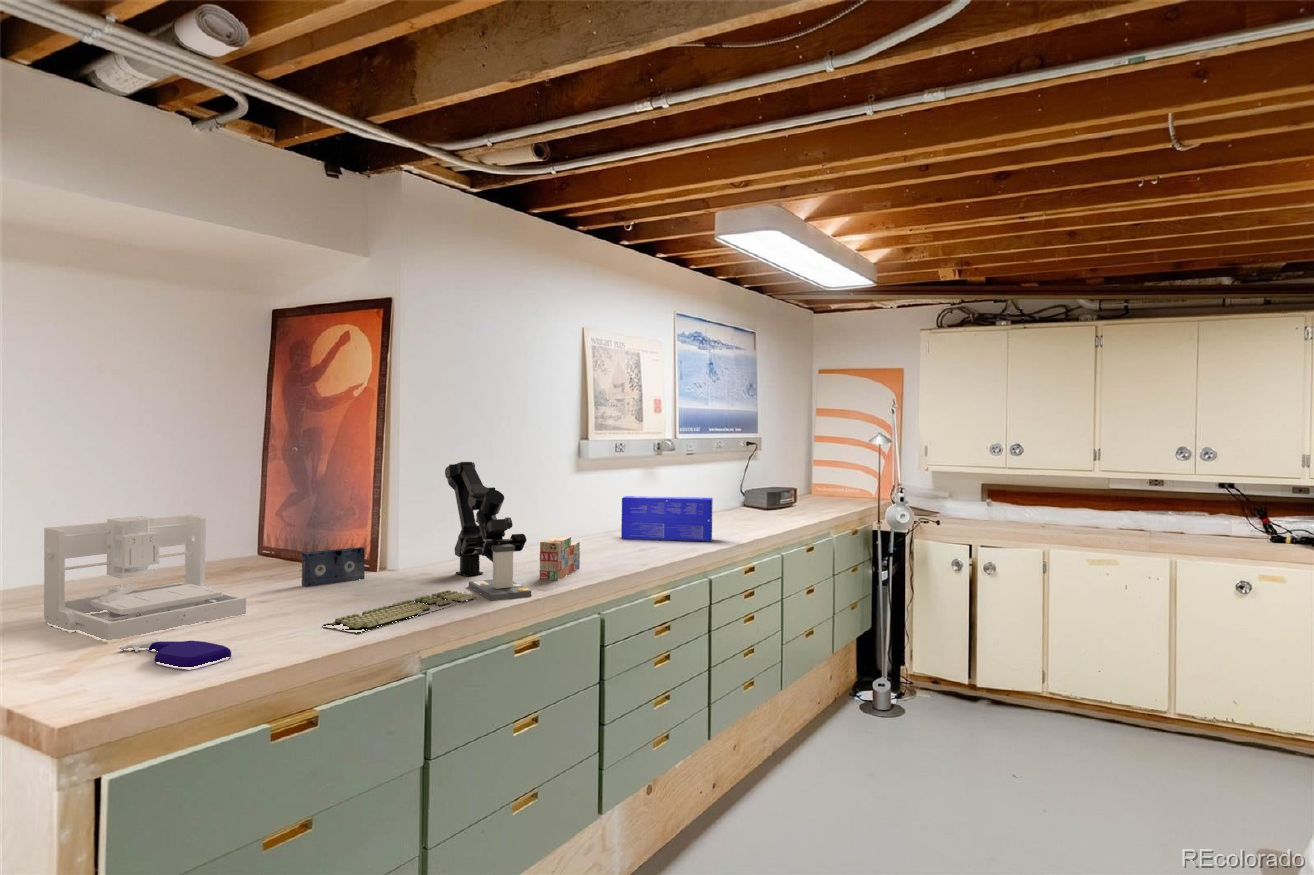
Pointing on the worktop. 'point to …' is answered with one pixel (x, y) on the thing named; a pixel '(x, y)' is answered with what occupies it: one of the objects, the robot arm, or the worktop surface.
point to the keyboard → (399, 611)
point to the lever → (502, 565)
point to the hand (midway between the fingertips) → (500, 567)
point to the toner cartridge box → (666, 518)
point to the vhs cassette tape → (332, 566)
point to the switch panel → (499, 590)
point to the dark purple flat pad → (183, 651)
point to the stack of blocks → (558, 557)
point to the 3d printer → (130, 556)
